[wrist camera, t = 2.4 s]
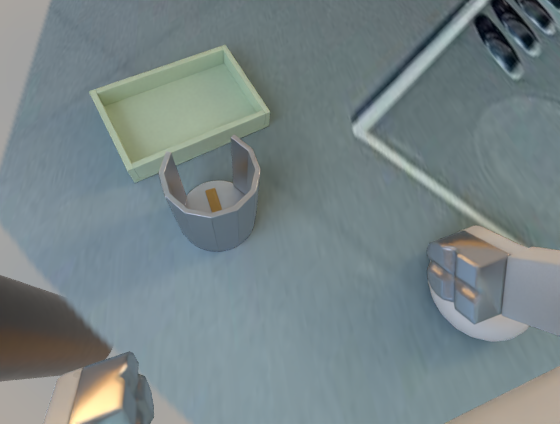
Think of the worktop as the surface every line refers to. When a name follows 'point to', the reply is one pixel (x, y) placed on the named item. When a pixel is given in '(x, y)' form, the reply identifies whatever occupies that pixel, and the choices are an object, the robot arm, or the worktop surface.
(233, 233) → the steel cup
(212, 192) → the key
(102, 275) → the worktop surface
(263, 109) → the tray
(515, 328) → the donut
